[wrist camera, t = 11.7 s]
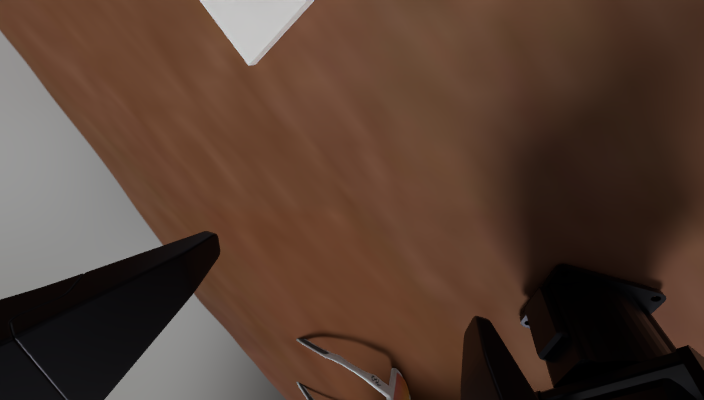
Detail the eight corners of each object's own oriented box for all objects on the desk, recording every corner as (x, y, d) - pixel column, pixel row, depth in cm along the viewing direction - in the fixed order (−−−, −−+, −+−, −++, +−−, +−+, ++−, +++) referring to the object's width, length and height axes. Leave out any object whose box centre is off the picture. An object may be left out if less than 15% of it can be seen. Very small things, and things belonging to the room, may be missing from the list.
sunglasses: (403, 429, 37) (392, 475, 33) (305, 374, 42) (285, 409, 38) (429, 370, 30) (418, 420, 26) (306, 312, 35) (281, 347, 31)
